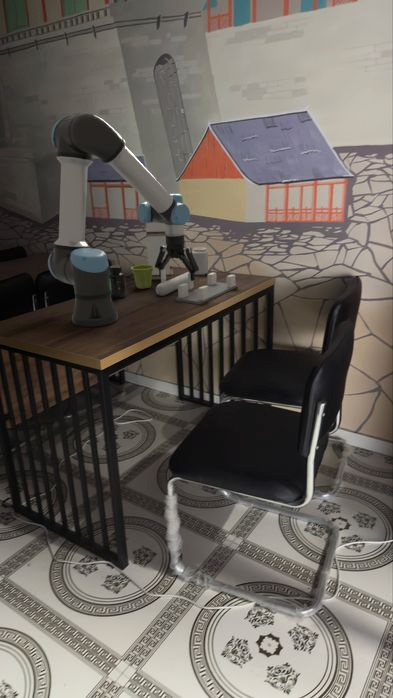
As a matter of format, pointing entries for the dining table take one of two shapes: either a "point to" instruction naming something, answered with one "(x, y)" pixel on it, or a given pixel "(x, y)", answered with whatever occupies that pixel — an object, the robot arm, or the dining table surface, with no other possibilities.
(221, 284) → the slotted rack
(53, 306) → the dining table surface
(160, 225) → the brown-trimmed grey box
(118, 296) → the supplement bottle
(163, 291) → the tube
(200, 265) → the can
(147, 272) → the plant pot
